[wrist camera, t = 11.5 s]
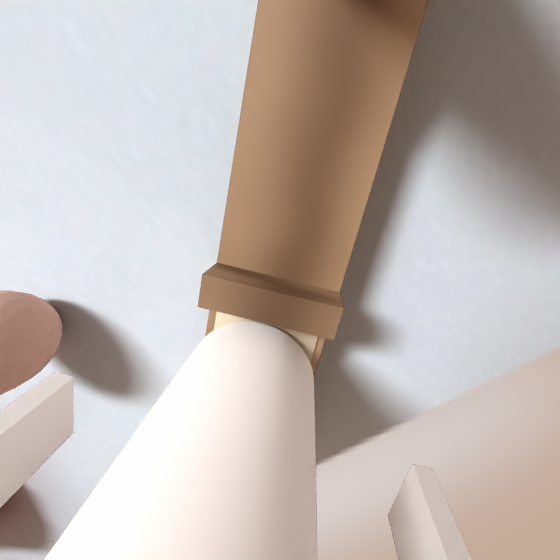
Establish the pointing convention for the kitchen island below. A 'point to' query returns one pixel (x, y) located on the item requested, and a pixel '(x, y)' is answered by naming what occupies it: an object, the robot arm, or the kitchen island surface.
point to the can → (213, 462)
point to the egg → (26, 337)
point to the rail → (307, 160)
